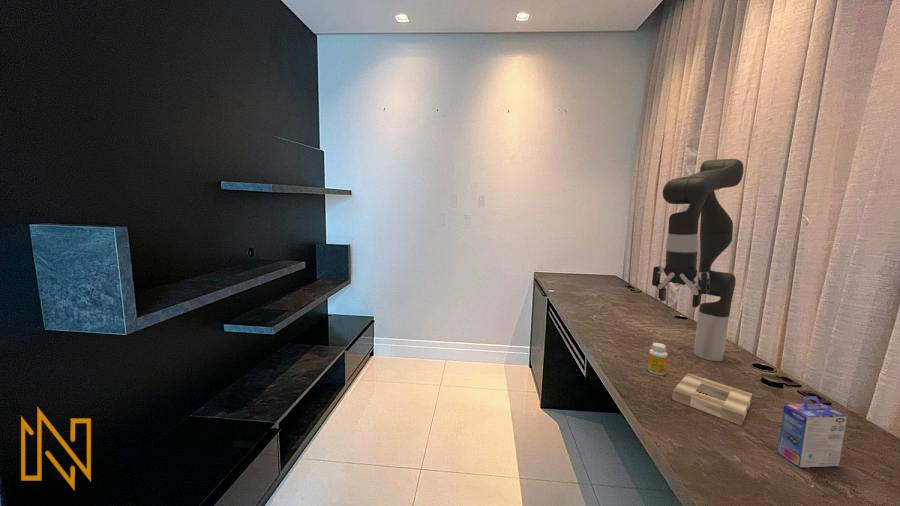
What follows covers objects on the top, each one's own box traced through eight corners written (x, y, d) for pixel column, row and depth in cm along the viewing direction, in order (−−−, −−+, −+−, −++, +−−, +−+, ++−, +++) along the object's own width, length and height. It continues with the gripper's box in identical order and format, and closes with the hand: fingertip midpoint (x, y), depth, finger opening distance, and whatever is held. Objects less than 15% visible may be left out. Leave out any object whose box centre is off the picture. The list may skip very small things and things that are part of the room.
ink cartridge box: (812, 449, 82) (823, 393, 80) (840, 467, 76) (852, 406, 74) (774, 450, 81) (784, 393, 79) (799, 468, 76) (811, 407, 74)
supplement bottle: (648, 373, 118) (651, 346, 116) (646, 366, 123) (649, 340, 121) (666, 376, 116) (670, 349, 114) (663, 369, 121) (666, 343, 119)
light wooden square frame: (686, 381, 113) (687, 373, 112) (750, 403, 101) (752, 393, 101) (671, 399, 102) (673, 389, 101) (741, 425, 90) (743, 415, 90)
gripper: (716, 250, 95) (712, 306, 97) (661, 245, 107) (658, 296, 109) (705, 253, 91) (701, 312, 93) (649, 248, 102) (646, 301, 105)
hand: (678, 303), depth 101 cm, fingers open, 8 cm apart
